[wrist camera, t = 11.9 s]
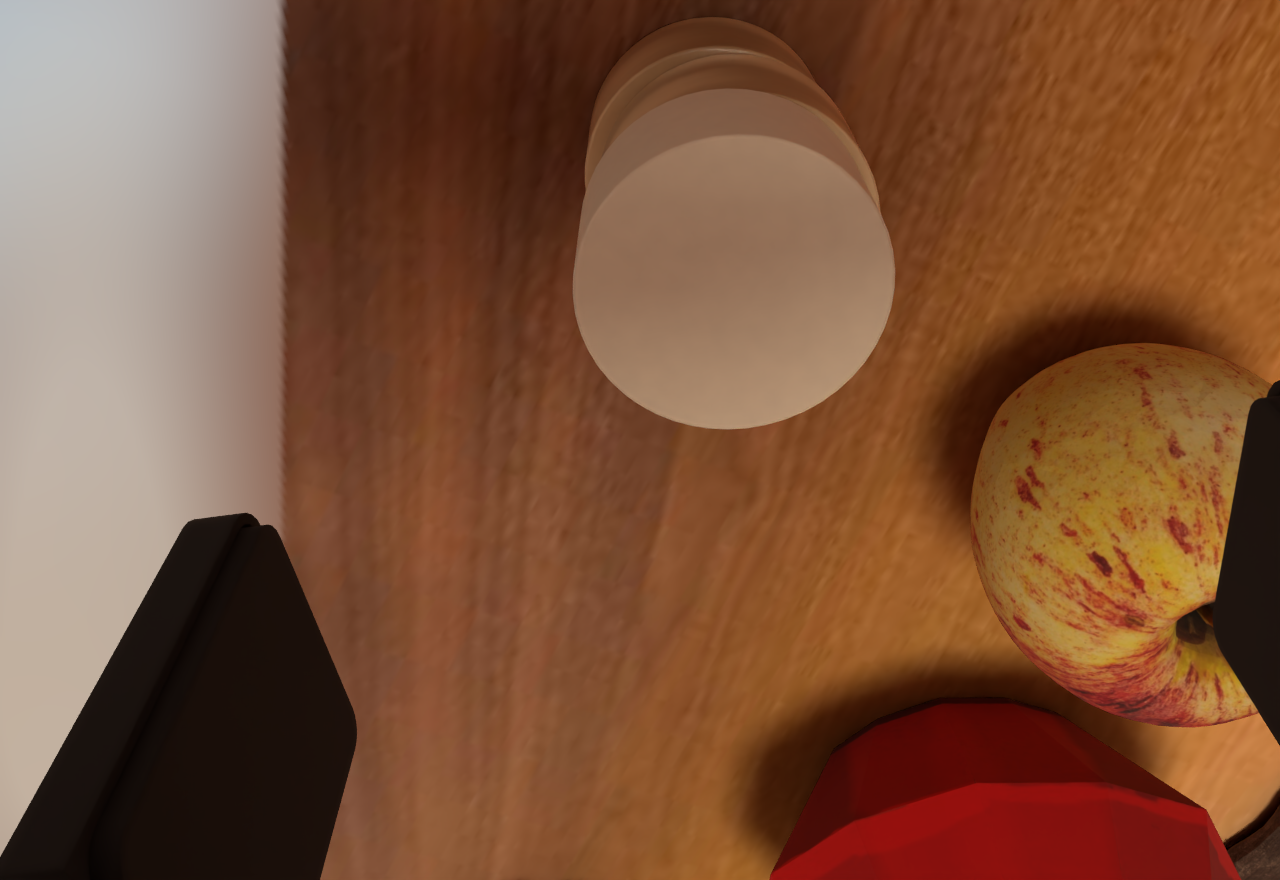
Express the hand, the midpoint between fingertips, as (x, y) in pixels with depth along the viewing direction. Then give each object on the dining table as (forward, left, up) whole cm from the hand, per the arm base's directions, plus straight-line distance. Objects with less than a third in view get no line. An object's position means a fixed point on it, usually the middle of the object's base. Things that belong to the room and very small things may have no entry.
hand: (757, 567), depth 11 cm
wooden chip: (0, -2, -13) cm, 13 cm away
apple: (+10, -12, -20) cm, 25 cm away
